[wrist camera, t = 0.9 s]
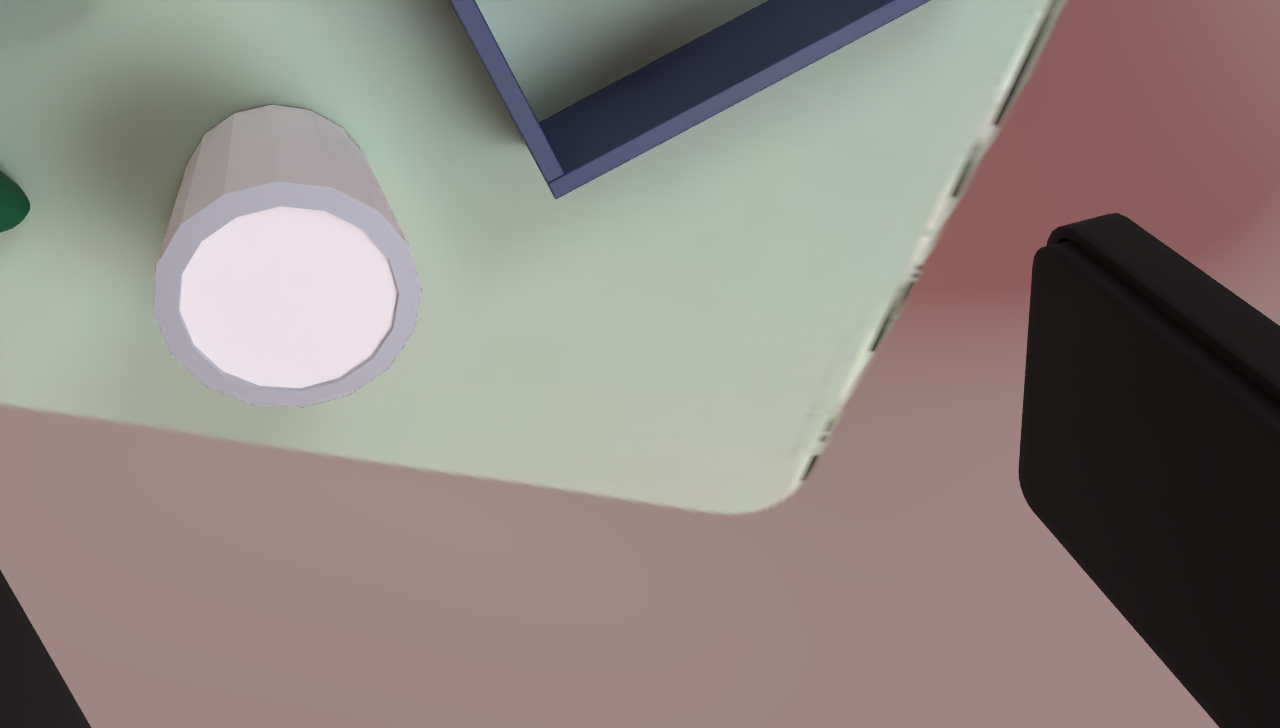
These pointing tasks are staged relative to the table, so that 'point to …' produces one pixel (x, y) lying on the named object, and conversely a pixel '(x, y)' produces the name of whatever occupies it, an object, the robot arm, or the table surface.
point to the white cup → (283, 263)
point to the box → (676, 81)
